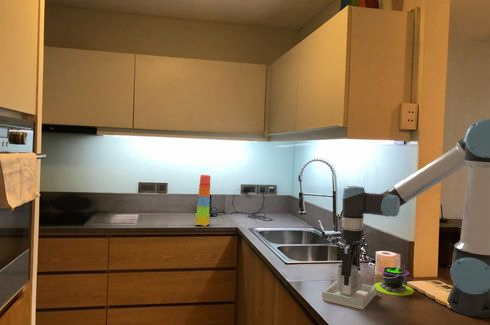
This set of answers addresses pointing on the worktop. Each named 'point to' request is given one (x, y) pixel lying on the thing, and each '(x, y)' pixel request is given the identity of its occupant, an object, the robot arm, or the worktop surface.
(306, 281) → the worktop surface
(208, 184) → the stacking cups
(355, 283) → the cup
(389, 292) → the toy cauldron
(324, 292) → the shallow rectangular tray
